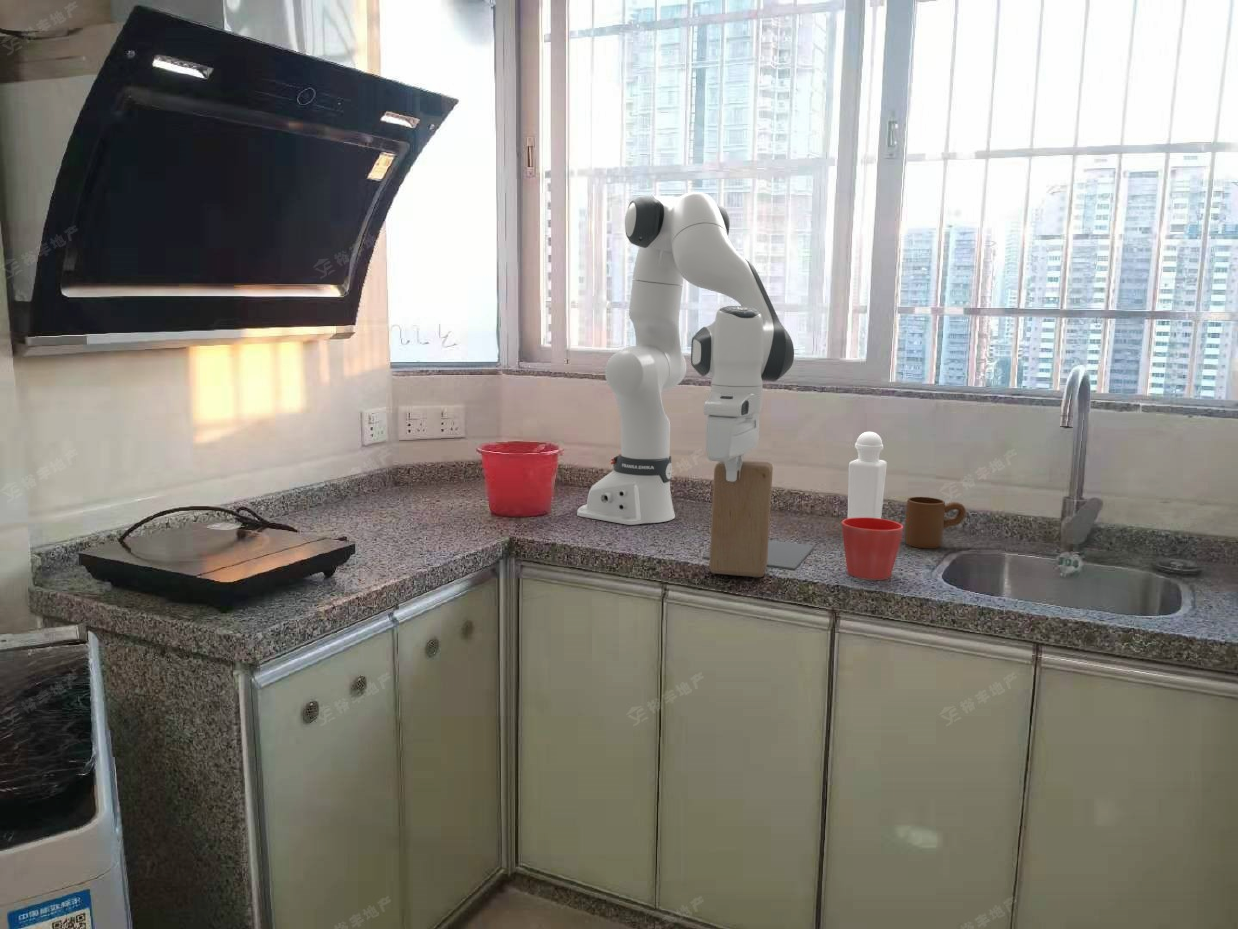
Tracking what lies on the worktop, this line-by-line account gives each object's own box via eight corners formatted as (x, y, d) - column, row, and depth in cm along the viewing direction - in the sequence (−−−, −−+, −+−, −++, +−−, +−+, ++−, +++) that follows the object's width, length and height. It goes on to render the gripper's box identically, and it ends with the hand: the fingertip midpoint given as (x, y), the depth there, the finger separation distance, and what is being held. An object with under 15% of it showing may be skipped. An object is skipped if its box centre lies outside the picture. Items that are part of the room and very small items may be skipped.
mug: (957, 541, 200) (960, 497, 199) (968, 550, 193) (972, 505, 191) (899, 539, 201) (902, 495, 199) (908, 548, 193) (912, 503, 192)
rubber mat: (702, 558, 183) (702, 556, 183) (728, 537, 200) (729, 535, 200) (794, 570, 177) (794, 568, 177) (814, 547, 193) (814, 545, 193)
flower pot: (854, 562, 182) (857, 513, 181) (909, 574, 175) (912, 523, 174) (828, 574, 174) (831, 523, 173) (884, 586, 167) (888, 533, 166)
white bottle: (873, 536, 203) (880, 434, 199) (844, 532, 206) (850, 431, 202) (882, 530, 208) (889, 431, 204) (853, 526, 211) (859, 428, 208)
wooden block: (764, 579, 168) (771, 467, 166) (708, 574, 170) (714, 463, 168) (767, 567, 178) (773, 461, 176) (713, 563, 180) (719, 458, 178)
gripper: (735, 396, 175) (732, 470, 177) (700, 405, 156) (697, 488, 158) (769, 397, 172) (765, 472, 174) (737, 407, 154) (733, 491, 156)
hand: (733, 480), depth 166 cm, fingers closed
